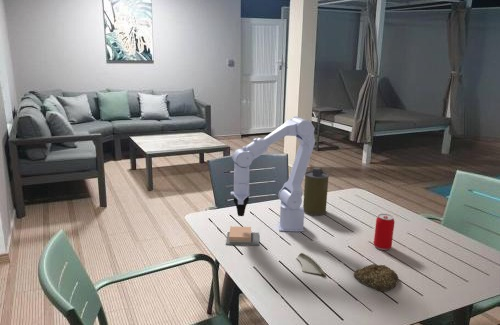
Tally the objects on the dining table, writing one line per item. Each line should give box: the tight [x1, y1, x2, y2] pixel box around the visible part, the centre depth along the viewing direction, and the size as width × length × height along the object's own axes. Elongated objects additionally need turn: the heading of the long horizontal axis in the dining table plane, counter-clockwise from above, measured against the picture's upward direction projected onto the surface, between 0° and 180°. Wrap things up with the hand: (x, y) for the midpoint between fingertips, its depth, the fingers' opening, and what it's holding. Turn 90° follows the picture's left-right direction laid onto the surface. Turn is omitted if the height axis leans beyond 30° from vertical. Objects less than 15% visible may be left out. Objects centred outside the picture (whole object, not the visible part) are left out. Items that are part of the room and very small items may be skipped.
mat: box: [225, 231, 260, 246], centre depth 150 cm, size 12×10×1 cm
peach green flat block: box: [229, 226, 252, 242], centre depth 150 cm, size 8×2×9 cm
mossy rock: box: [353, 263, 399, 292], centre depth 125 cm, size 13×12×5 cm
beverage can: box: [373, 213, 395, 251], centre depth 144 cm, size 6×6×12 cm
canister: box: [302, 166, 330, 217], centre depth 175 cm, size 11×10×20 cm
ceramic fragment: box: [295, 252, 327, 277], centre depth 130 cm, size 14×5×4 cm, turn 28°
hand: (240, 215), depth 152 cm, fingers closed
